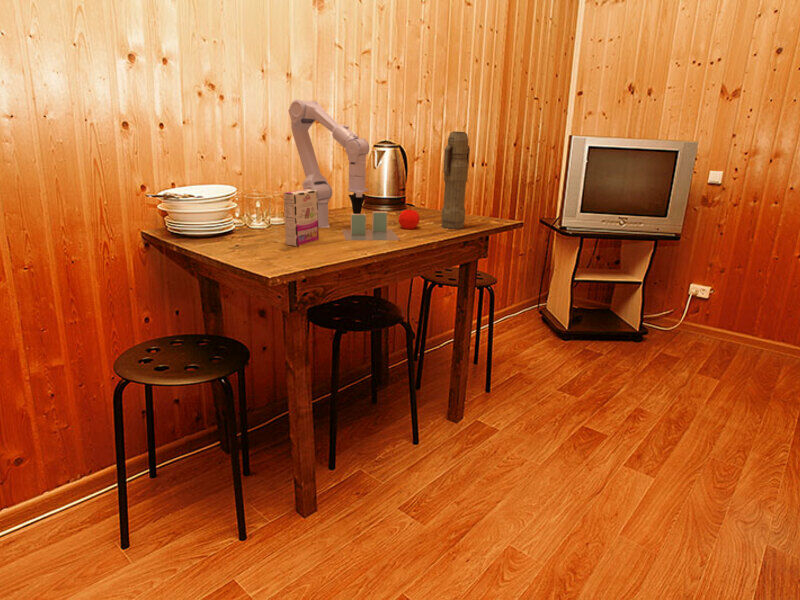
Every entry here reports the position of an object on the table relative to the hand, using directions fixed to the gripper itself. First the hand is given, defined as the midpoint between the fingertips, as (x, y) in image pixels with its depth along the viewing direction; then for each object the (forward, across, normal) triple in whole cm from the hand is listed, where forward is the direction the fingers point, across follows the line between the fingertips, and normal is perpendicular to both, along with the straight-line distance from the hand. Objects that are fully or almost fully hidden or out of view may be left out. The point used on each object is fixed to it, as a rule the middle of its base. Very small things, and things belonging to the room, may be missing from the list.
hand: (356, 215), depth 188 cm
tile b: (+6, -1, -8) cm, 10 cm away
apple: (+6, +6, -20) cm, 22 cm away
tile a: (+6, -6, 0) cm, 8 cm away
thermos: (+6, +11, -38) cm, 40 cm away
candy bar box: (+6, -16, +19) cm, 25 cm away
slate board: (+6, -6, -4) cm, 9 cm away
